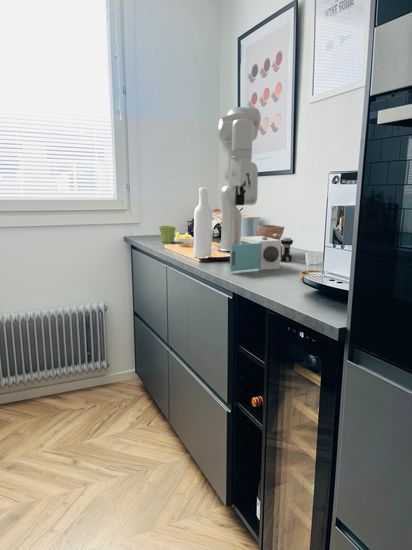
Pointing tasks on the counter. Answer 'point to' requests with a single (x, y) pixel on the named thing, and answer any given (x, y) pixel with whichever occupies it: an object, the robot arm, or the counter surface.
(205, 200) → the bottle
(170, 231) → the plant pot
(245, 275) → the counter surface
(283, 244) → the push button
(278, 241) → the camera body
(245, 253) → the side door
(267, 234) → the ceramic jug
